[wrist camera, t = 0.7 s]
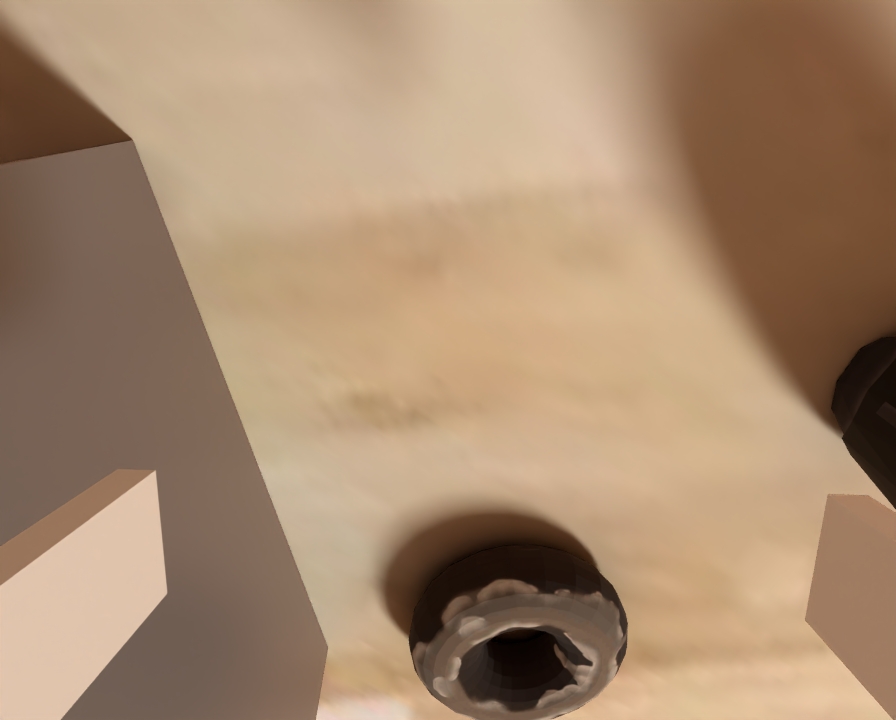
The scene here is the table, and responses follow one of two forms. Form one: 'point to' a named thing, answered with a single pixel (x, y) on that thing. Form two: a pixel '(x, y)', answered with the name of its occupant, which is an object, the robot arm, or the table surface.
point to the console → (143, 443)
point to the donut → (513, 608)
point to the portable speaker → (871, 412)
